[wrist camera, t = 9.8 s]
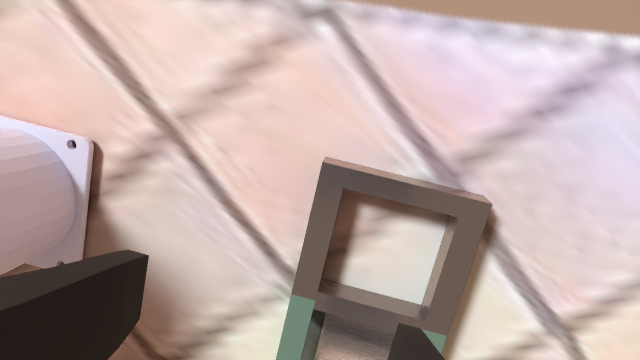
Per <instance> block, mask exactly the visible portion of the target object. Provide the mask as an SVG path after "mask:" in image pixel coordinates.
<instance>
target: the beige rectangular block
mask: <svg viewBox="0 0 640 360" xmlns="http://www.w3.org/2000/svg"><path fill="white" fill-rule="evenodd" d="M395 333H396V332H395V331H392V330H388V329H384V328H381V327H377V326H373V325H370V324H366V323H362V322H358V321H355V320H351V319H347V318H344V317H340V316H336V315H333V314H329V313H326V315H325V319H324V323H323V327H322V331H321V335H320V338H319V342H318V346H317V350H316V354H315V357H314V360H387V359H388V356H389V352H390V349H391V346H392V343H393V339H394V336H395Z"/></svg>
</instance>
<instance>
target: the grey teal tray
mask: <svg viewBox="0 0 640 360" xmlns="http://www.w3.org/2000/svg"><path fill="white" fill-rule="evenodd" d="M343 189H347V190H351V191H355V192H359V193H363V194H367V195H371V196H375V197H379V198H383V199H387V200H391V201H395V202H399V203H403V204H407V205H411V206H415V207H419V208H423V209H427V210H431V211H435V212H439V213H443V214H447V215H450V217H449V221H448V224H447V227H446V230H445V233H444V236H443V239H442V242H441V245H440V249H439V252H438V255H437V258H436V261H435V264H434V267H433V270H432V274H431V277H430V280H429V283H428V286H427V289H426V292H425V295H424V299H423V302H422V305H418V304H414V303H411V302H407V301H403V300H399V299H396V298H392V297H388V296H384V295H381V294H377V293H373V292H369V291H366V290H362V289H358V288H354V287H350V286H347V285H343V284H339V283H335V282H332V281H328V280H324V279H321V276H322V272H323V268H324V264H325V260H326V256H327V252H328V248H329V244H330V240H331V236H332V232H333V228H334V224H335V220H336V216H337V213H338V209H339V205H340V201H341V197H342V193H343ZM491 207H492V203H491V202H490V201H488V200H487V199H486V198H485V197H484V196H482V195H478V194H474V193H469V192H465V191H461V190H457V189H453V188H449V187H445V186H441V185H437V184H433V183H429V182H425V181H421V180H417V179H413V178H409V177H405V176H401V175H397V174H393V173H389V172H385V171H381V170H377V169H373V168H369V167H365V166H361V165H357V164H353V163H349V162H345V161H341V160H336V159H332V158H328V157H325V159H324V160H323V163H322V167H321V171H320V175H319V179H318V184H317V188H316V192H315V196H314V201H313V205H312V209H311V213H310V218H309V222H308V226H307V230H306V234H305V239H304V243H303V247H302V251H301V256H300V260H299V264H298V268H297V273H296V277H295V281H294V285H293V289H292V294H291V298H290V302H289V306H288V311H287V315H286V319H285V323H284V328H283V332H282V336H281V340H280V344H279V349H278V353H277V357H276V360H300V359H301V355H302V351H303V347H304V343H305V339H306V335H307V331H308V327H309V323H310V319H311V316H312V312H313V309H314V310H318V311H321V312H325V313H329V314H333V315H336V316H340V317H344V318H347V319H351V320H355V321H358V322H362V323H366V324H370V325H373V326H377V327H381V328H384V329H388V330H392V331H395V332H396V330H397V327H398V323H402V324H406V325H409V326H413V327H417V328H420V329H422V331H423V332H424V333H425V334H426V335H427V337H428V338H429V339H430V341H431V342H432V343H433V345H434V346H435V347H436V349H437V350H438V351H439V353H440V354H441V352H442V350H443V347H444V344H445V341H446V338H447V335H448V332H449V329H450V326H451V323H452V320H453V317H454V315H455V312H456V309H457V306H458V303H459V300H460V297H461V294H462V291H463V288H464V285H465V283H466V280H467V277H468V274H469V271H470V268H471V265H472V262H473V259H474V256H475V253H476V251H477V248H478V245H479V242H480V239H481V236H482V233H483V230H484V227H485V224H486V221H487V219H488V216H489V213H490V210H491Z"/></svg>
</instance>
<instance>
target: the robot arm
mask: <svg viewBox="0 0 640 360" xmlns="http://www.w3.org/2000/svg"><path fill="white" fill-rule="evenodd" d="M73 140H74V141H75V143H76V148H74V147H73V145H72V141H73ZM93 152H94V145H93V142H92V141H91V140H90V139H89V138H87V137H84V136H80V135H77V134H73V133H69V132H65V131H61V130H57V129H53V128H49V127H45V126H41V125H37V124H33V123H29V122H25V121H21V120H17V119H13V118H10V117H6V116H2V115H0V275H2V274H4V273H6V272H8V271H10V270H12V269H14V268H16V267H18V266H20V265H22V264H24V263H25V264H29V265H32V266H36V267H40V268H43V269H41V270H36V271H32V272H27V273H22V274H18V275H13V276H8V277H2V278H0V360H108V358H109V357H110V356H111V355H112V354H113V353H114V352H115V351H116V350H117V349H118V348H119V346H120V345H121V344H122V342H123V341H124V340H125V338H126V337H127V336H128V335H129V333H130V332H131V330H132V329H133V327H134V326H135V325H136V323H137V322H138V320H139V319H140V313H141V306H142V299H143V292H144V285H145V278H146V271H147V264H148V257H149V255H145V254H141V253H138V252H134V251H130V250H125V251H118V252H113V253H108V254H104V255H100V256H96V257H92V258H88V259H84V260H82V259H83V250H84V240H85V230H86V220H87V211H88V201H89V191H90V181H91V172H92V162H93ZM61 261H62V262H63V263H64V264H63V265H62V262H61ZM387 360H445V359H444V358H443V357H442V355H441V354H440V353H439V351H438V350H437V349H436V347H435V346H434V345H433V343H432V342H431V341H430V339H429V338H428V337H427V335H426V334H425V333H424V332H423V331H422V329H420V328H417V327H413V326H409V325H406V324H402V323H398V327H397V330H396V333H395V336H394V339H393V343H392V346H391V349H390V352H389V356H388V359H387Z"/></svg>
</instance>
